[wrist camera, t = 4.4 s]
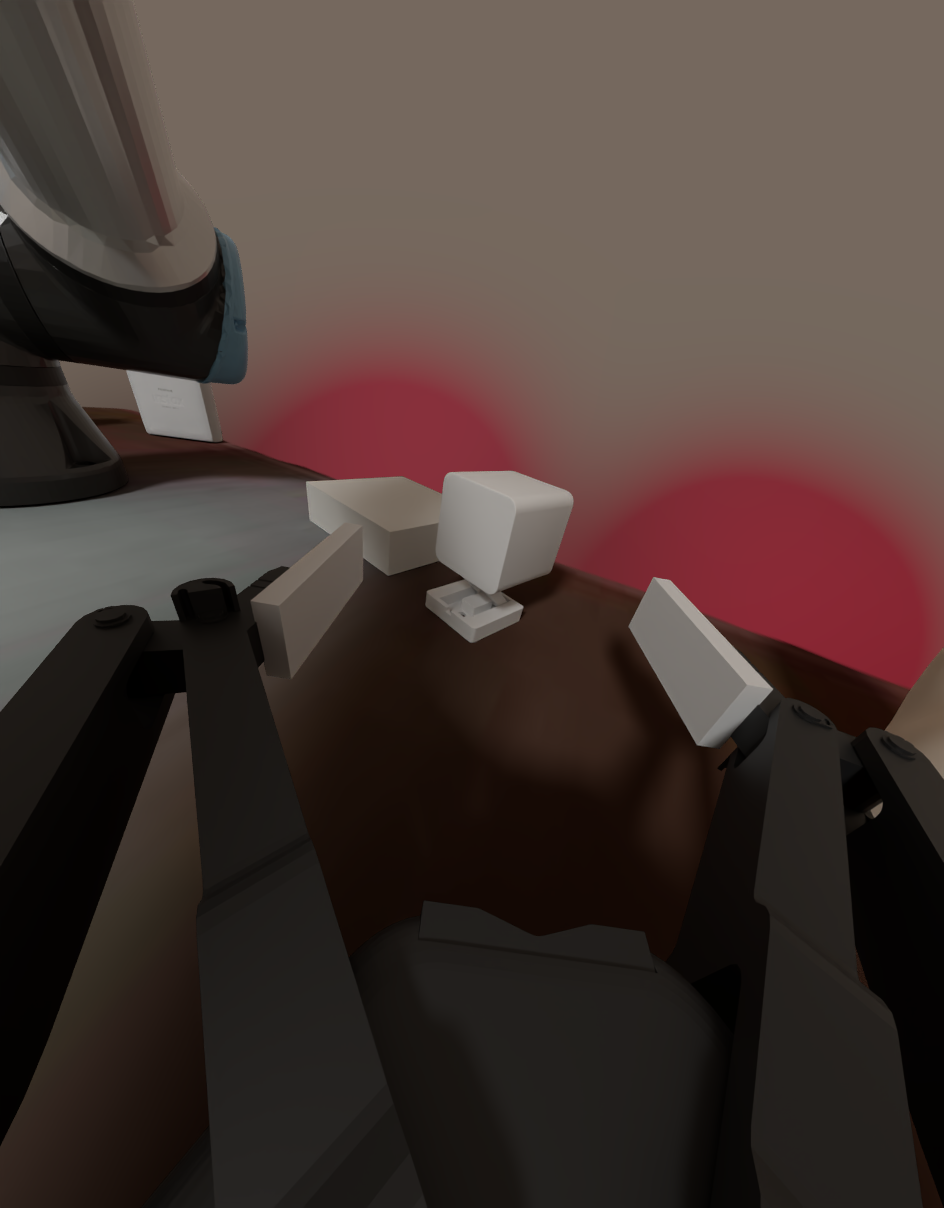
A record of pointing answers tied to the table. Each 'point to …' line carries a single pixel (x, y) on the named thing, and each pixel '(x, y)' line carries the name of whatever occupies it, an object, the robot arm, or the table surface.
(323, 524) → the plinth
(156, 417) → the photo printer
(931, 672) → the water bottle
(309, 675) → the table surface
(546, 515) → the security camera
